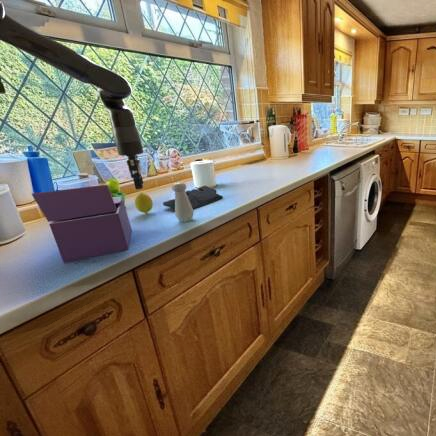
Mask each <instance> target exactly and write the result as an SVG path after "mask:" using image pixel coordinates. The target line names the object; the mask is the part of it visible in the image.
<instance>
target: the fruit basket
mask: <svg viewBox="0 0 436 436" xmlns="http://www.w3.org/2000/svg"><path fill="white" fill-rule="evenodd" d="M104 185H108V188H109V190H110V193H111V195H112V197H120V196H122V199H123V200H124V204H125V203H126V193H125V192H124V193H123V192H120V191H121V187H120V182H119V181H118V180H117V177H115V178H113V177H110V178H109V179H108V181H107V182H106V183H105V184H104ZM125 205H126V204H125Z"/></svg>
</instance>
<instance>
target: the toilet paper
mask: <svg viewBox="0 0 436 436" xmlns="http://www.w3.org/2000/svg"><path fill="white" fill-rule="evenodd" d="M190 169H191V174H192V179H193V186H194V188H195V187H197V188H196V189H198V188H200V187H202V186H207V187H210V188H213V187H216V186H217V185H218V184H217V178H216V172H215V166H214V161H213V160H198V161H196V160H195V161H192V162H190Z"/></svg>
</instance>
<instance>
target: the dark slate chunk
mask: <svg viewBox="0 0 436 436" xmlns="http://www.w3.org/2000/svg"><path fill="white" fill-rule="evenodd" d="M185 192H186V194H187V196H188V199H189V201H190V204H191V206H192V209H193V210H196V209H198V208H200V207H203V206H204V207H205V206H206V205H210V204H211V203H215V202H217V201H219V200H221V199H223V198H224V196H223V195H220V194H219V193H218V191H217V189H215V188H213V187H207V186H202V187H200V188H193V189H190V190H189V189H188V190H185ZM209 203H210V204H209ZM162 205H163V206H164V207H167V208H173V209H175V198H173V199H169V200H166V201H163V202H162Z"/></svg>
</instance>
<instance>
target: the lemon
mask: <svg viewBox="0 0 436 436" xmlns="http://www.w3.org/2000/svg"><path fill="white" fill-rule="evenodd" d="M134 205H135V208H136V210H138V211H139V213H144V214H145V215H147V214H148V213H149V212H151V211H152V209H153V207H154V203H153V199H152V198H151V196H150V195H149V194H146V193H144V192H140V193H139V194H137V195H136V196H135V198H134Z"/></svg>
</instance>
